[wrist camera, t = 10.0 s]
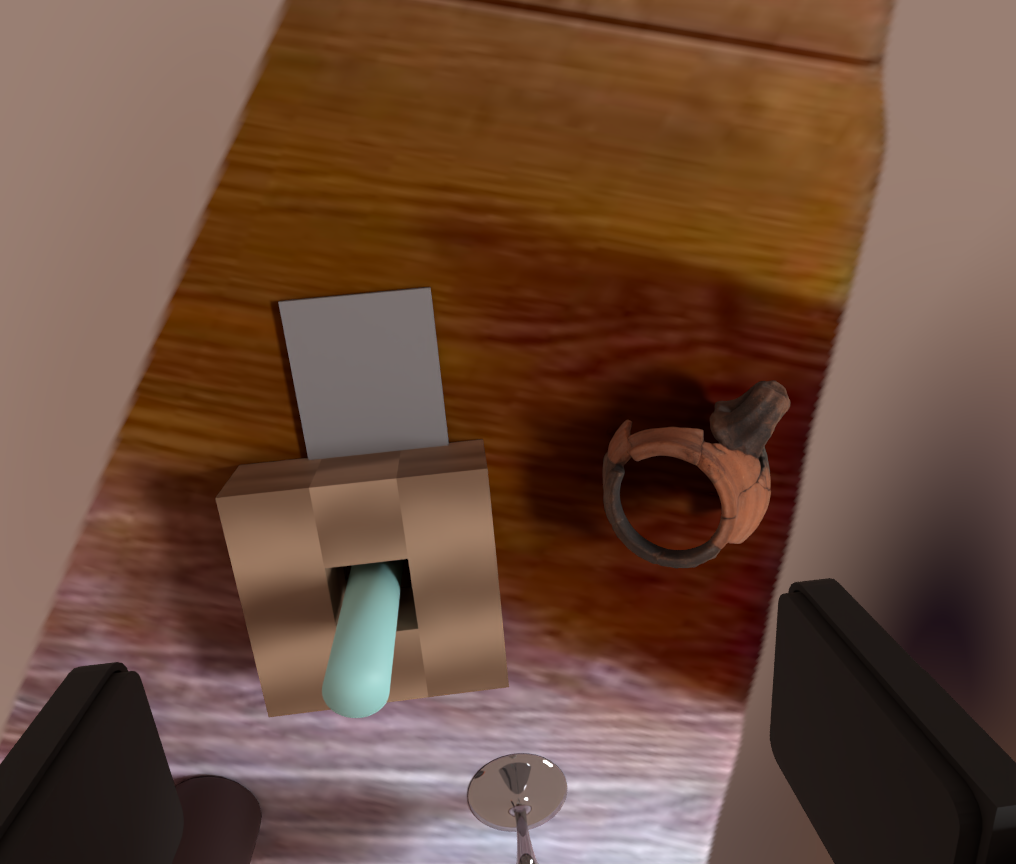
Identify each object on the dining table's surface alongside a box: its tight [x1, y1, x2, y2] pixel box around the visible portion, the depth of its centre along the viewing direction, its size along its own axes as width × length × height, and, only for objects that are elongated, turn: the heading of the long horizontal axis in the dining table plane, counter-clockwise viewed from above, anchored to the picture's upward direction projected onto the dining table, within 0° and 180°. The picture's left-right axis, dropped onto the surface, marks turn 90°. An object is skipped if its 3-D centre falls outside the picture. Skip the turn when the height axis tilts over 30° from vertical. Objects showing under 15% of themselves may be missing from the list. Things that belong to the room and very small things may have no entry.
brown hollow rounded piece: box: [603, 381, 790, 568], centre depth 40 cm, size 12×10×8 cm
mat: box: [278, 287, 449, 460], centre depth 39 cm, size 10×8×1 cm
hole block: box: [215, 439, 509, 717], centre depth 41 cm, size 14×14×4 cm
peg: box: [322, 559, 404, 718], centre depth 37 cm, size 3×3×12 cm
